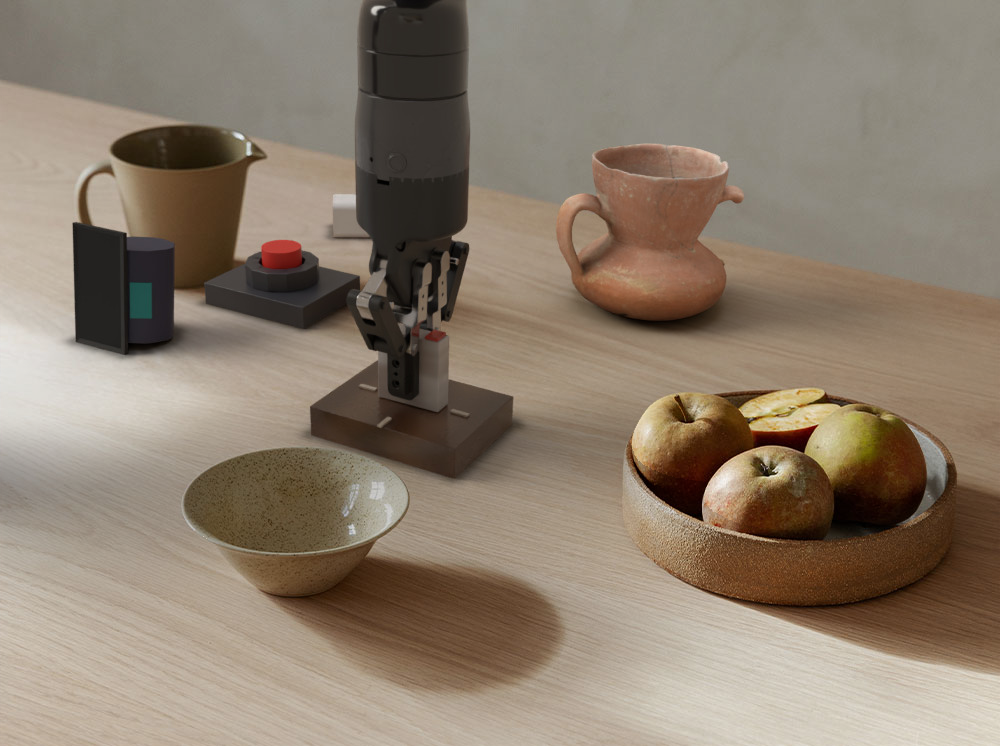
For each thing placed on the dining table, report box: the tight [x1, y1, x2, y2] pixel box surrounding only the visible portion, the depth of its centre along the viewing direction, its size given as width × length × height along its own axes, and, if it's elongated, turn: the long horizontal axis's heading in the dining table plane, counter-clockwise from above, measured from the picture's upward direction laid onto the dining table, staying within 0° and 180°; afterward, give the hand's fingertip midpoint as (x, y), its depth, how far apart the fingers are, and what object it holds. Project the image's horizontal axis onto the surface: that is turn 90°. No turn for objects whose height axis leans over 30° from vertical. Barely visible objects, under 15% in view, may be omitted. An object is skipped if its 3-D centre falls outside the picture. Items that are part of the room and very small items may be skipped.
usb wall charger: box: [332, 193, 371, 239], centre depth 120 cm, size 4×7×4 cm, turn 96°
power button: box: [260, 239, 303, 269], centre depth 101 cm, size 4×4×2 cm
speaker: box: [72, 221, 176, 356], centre depth 92 cm, size 8×6×10 cm
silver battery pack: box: [377, 323, 450, 412], centre depth 79 cm, size 5×2×6 cm, turn 64°
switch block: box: [203, 249, 361, 330], centre depth 102 cm, size 11×9×4 cm
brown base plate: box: [309, 359, 514, 480], centre depth 81 cm, size 12×9×3 cm
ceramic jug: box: [555, 143, 745, 322], centre depth 102 cm, size 18×14×14 cm
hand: (410, 389), depth 80 cm, fingers closed on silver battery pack
